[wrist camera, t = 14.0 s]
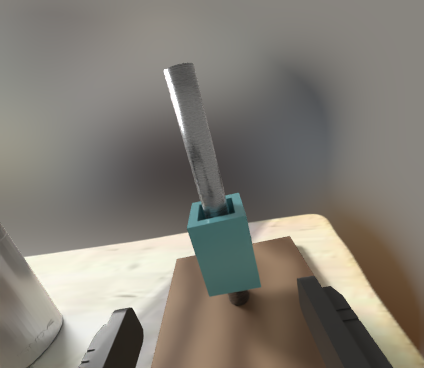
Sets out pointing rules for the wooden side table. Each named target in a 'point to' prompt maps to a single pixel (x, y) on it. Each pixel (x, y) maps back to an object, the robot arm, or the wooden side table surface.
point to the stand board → (239, 318)
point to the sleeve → (224, 248)
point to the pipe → (199, 147)
